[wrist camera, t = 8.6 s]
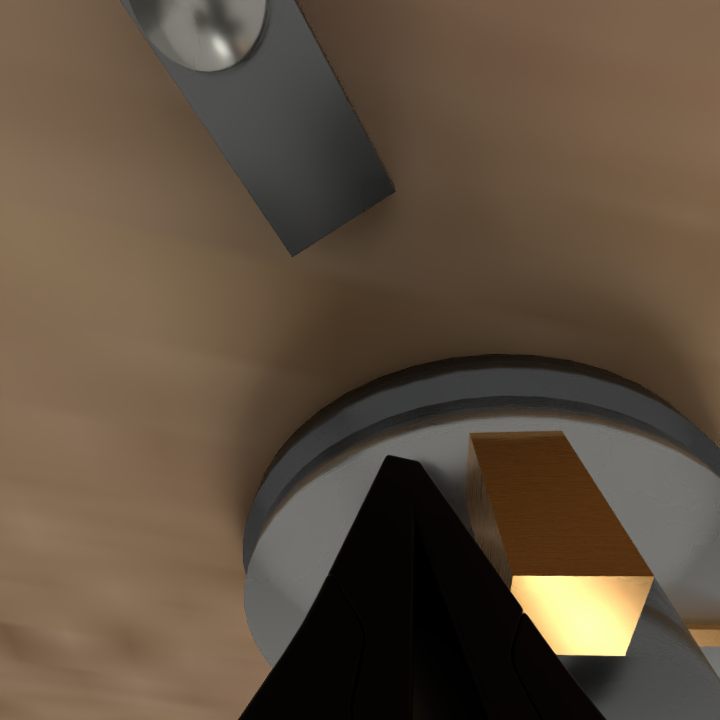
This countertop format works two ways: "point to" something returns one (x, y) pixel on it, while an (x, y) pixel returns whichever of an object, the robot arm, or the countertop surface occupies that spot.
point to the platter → (518, 518)
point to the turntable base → (462, 383)
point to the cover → (651, 670)
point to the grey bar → (270, 109)
